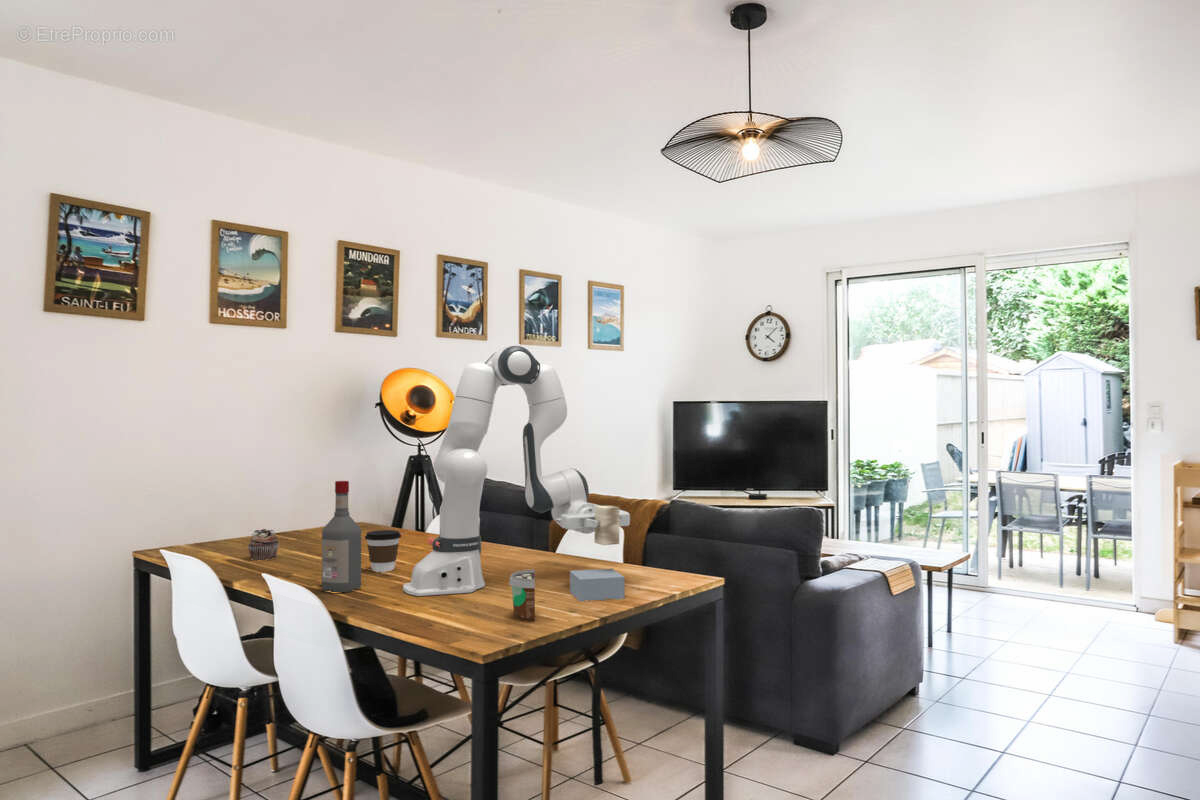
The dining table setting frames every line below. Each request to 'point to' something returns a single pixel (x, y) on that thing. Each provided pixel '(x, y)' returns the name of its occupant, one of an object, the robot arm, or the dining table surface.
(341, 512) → the liquor
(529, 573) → the food container
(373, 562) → the coffee cup
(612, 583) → the slate block
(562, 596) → the dining table surface
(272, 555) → the cupcake
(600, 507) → the birch block
